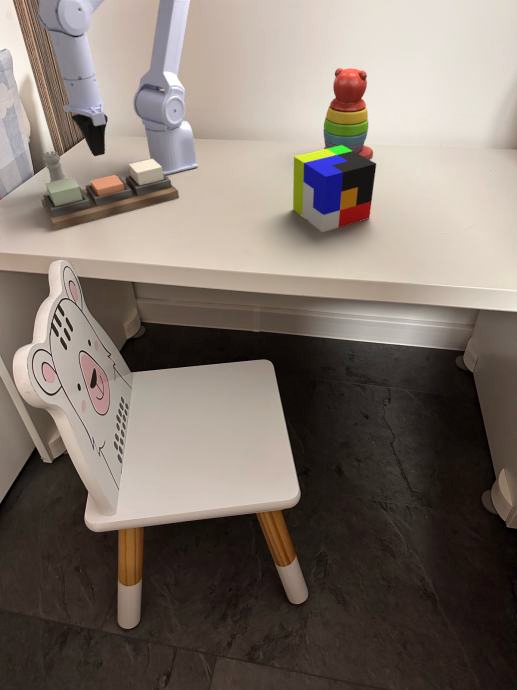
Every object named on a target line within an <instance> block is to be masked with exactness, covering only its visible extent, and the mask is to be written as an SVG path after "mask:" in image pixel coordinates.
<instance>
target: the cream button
mask: <svg viewBox="0 0 517 690" xmlns="http://www.w3.org/2000/svg"><path fill="white" fill-rule="evenodd" d="M128 168H129V173H130V175H131V177H132V178H133V179H134V180H135V181H136V182H137V183H138V184H139V185H144V184H148V183H152V182H156V181H160V180H164V177H163V171H162V167H161V166H160V165H159V164H158V163H157V162H156V161H155V160H154V159H150V158H149V159H146V160H141V161H137V162H133V163H132V162H131V163H128Z"/></svg>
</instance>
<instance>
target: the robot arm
mask: <svg viewBox="0 0 517 690" xmlns="http://www.w3.org/2000/svg"><path fill="white" fill-rule="evenodd" d="M104 2H105V0H39V5H38V13H37V14H36V16H37V19H38V21H39V22H40V24H41V26H42V27H43V28H44V29H45V30H46V31H47V33H48V35H49V38H50V41H51V42H52V46H53V50H54V54H55V57H56V61H57V65H58V68H59V71H60V75H61V78H62V82H63V86H64V89H65V93H66V97H67V101H68V104H65V105H62V109H63V111H64V112H66V113H70V112H71V113H75V114H74V115H72V116H71V119H72V120H73V122H74V123H75V124H76V125H77V127H78V128H79V130H80V131H81V132H80V133H82V136H83V137H84V140H85V142H86V144H87V147H88V149H89V151H90V152H91V154H92V156H93V157H98V156H102V155H105V154H106V145H105V144H106V143H105V141H106V139H105V137H106V136H105V134H106V127H107V124H108V121H109V120H108V119H109V118H108V116H107V114H105V112H104V110H105V109H104V108H105V103H104V100H103V99H102V95H101V90H100V86H99V81H98V78H97V72H96V70H95V65H94V61H93V56H92V51H91V47H90V42H89V38H88V34H87V32H88V31H89V30H90V26H91V18H92V14H94V13H95V11H96V10H97V9H98V8H99V7H100V6H101V5H102V4H103V3H104ZM190 3H191V0H159V3H158V11H157V17H156V24H155V29H154V37H153V44H152V50H151V58H150V66H149V69H148V70H147V71H146V73H145V74H143V76H141V77H140V79H139V85H138V88H137V90H136V91H135V93H134V97H133V100H132V101H133V103H132V105H133V110H134V113H135V114H136V116H137V117H138V118H140V119H141V122H142V125H143V126H144V130H145V135H146V136H145V137H146V141H147V145H148V146H147V147H148V152H149V153H148V154H149V159H154V160H155V161H156V162H157V163H158V164H159V165H160V166H161V167H162V171H163V174H165V175H166V176H168V175H169V174H170V175H171V174H175V173H178V172H182V171H186V170H190V169H195V168H198V167H199V164H198V163H197V156H196V155H197V154H196V147H195V139H194V134H193V129H192V127H191V125H190V123H189V122H188V121H187V120H184V119H185V116H186V115H185V114H186V105H185V104H186V103H185V93H186V89H185V87H184V86H183V84H182V83H181V81H180V80H179V77H178V76H179V69H180V64H181V57H182V51H183V45H184V40H185V39H184V38H185V33H186V26H187V21H188V15H189V10H190ZM163 90H164V91H163Z"/></svg>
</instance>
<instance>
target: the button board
mask: <svg viewBox="0 0 517 690" xmlns="http://www.w3.org/2000/svg"><path fill="white" fill-rule="evenodd" d="M163 177H164V180H160V181H156V182H152V183H148V184H144V185H139V184H138V183H137V182H136V181H135V180H134V179H133V178H132V177H131V174H127V175H124V179H122V178H121V176H120V177H118V178H119V179H120V180H121V182H122V183H123V185H124V189H125V190H124V191H119V192H115V193H111V194H107V195H103V196H99V197H97V196H96V195H95V193H94V192H93V190H92V186H91V183H90V184H86V185H84V187H85V188H83V189H82V188H81V186H79V188H80V192H81V195H82V199H83V200H79V201H75V202H71V203H67V204H63V205H59V206H55V205H54V203H53V201H52V200H51V198H50V196H49V193H46V194H44V195H42V197H43V198H42V199H40V201H41V205H42V208H43V210H44V211H45V213H46V215H47V217H48V219H49V220H50V222H51V224H52V226H53V228H54V229H55V231H59V230H62V229H66V228H69V227H74V226H76V225H81V224H84V223H88V222H92V221H96V220H102V219H104V218H108V217H111V216H115V215H119V214H123V213H127V212H131V211H134V210H138V209H142V208H145V207H149V206H153V205H157V204H161V203H164V202H168V201H172V200H175V199H179V198H180V194H179V190H178V189H177V188H176V187H175V186H174V185H173V184H172V182H171V179H170V178H169V177H168V175H165V174H163Z"/></svg>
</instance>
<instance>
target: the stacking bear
mask: <svg viewBox="0 0 517 690" xmlns="http://www.w3.org/2000/svg"><path fill="white" fill-rule="evenodd" d="M334 76H335V78H334V80H333V87H332V88H333V94H334V96H335V97H334V98H333V99H332V100H331V101H330V103H329V106H328V109H327V111H326V115H325V119H324V123H323V137H324V138H323V140H324V147H323V149H328V148H332V147H336V146H340V145H343V146H344V147H346V148H348V149H350V150H352V151H354V152H356V153H357V154H359V155H361V156H363V157H365V158H367V159H369V160H370V159H371V158H372V157H373V156H374V151H373V149H372V147H370V146H367V145H365V141H366V139H367V135H368V131H369V119H368V116H369V113H368V108H367V104H366V101H365V100H364V99H363V97H364V95H365V93H366V90H367V88H368V87H367V85H368V81H367V77H368V74H367V73H366V71H365V70H363V69H361V70H360V69H357V68H345V69H343V68H342V67H338V68H337V69H335V71H334Z"/></svg>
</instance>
